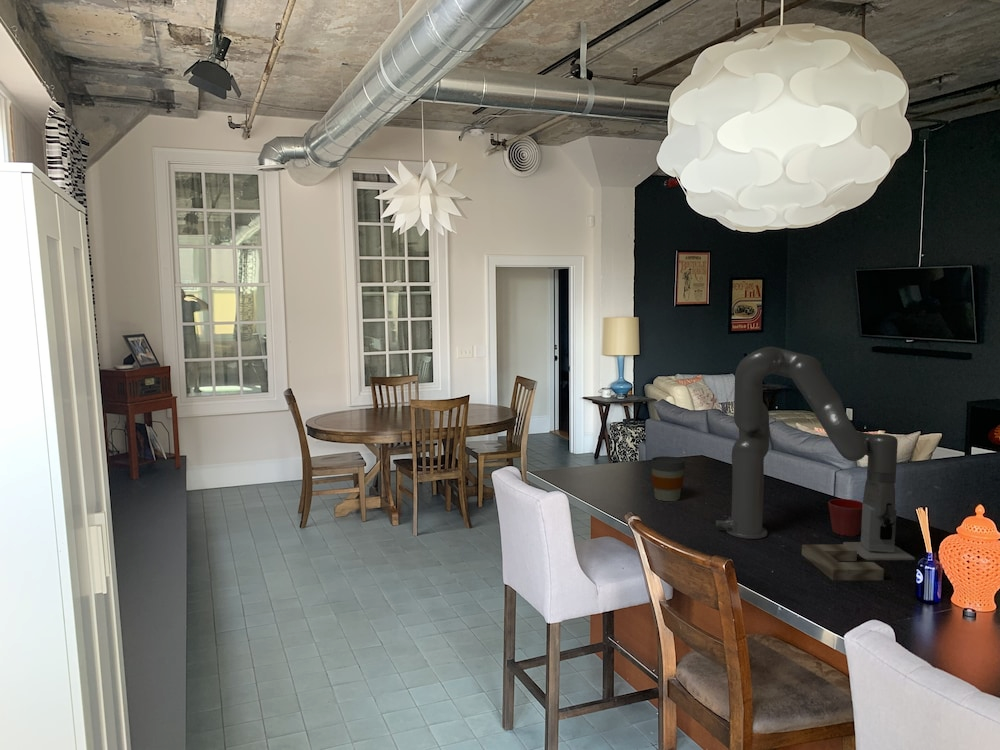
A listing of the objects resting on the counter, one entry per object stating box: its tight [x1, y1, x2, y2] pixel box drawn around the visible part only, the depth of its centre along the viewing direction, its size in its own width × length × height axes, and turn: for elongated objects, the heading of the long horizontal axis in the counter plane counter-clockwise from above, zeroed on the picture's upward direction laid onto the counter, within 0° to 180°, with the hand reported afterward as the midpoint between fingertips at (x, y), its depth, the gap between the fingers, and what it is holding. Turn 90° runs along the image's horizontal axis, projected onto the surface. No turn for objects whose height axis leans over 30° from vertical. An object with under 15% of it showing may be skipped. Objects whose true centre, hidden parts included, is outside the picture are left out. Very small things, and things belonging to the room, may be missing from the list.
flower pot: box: [827, 498, 863, 537], centre depth 234 cm, size 11×11×10 cm
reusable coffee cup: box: [650, 455, 686, 502], centre depth 275 cm, size 13×13×15 cm
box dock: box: [801, 543, 885, 582], centre depth 205 cm, size 14×20×3 cm
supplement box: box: [860, 502, 897, 552], centre depth 216 cm, size 7×7×13 cm
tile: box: [842, 541, 916, 561], centre depth 217 cm, size 14×14×1 cm
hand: (878, 534), depth 216 cm, fingers closed on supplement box, 8 cm apart
